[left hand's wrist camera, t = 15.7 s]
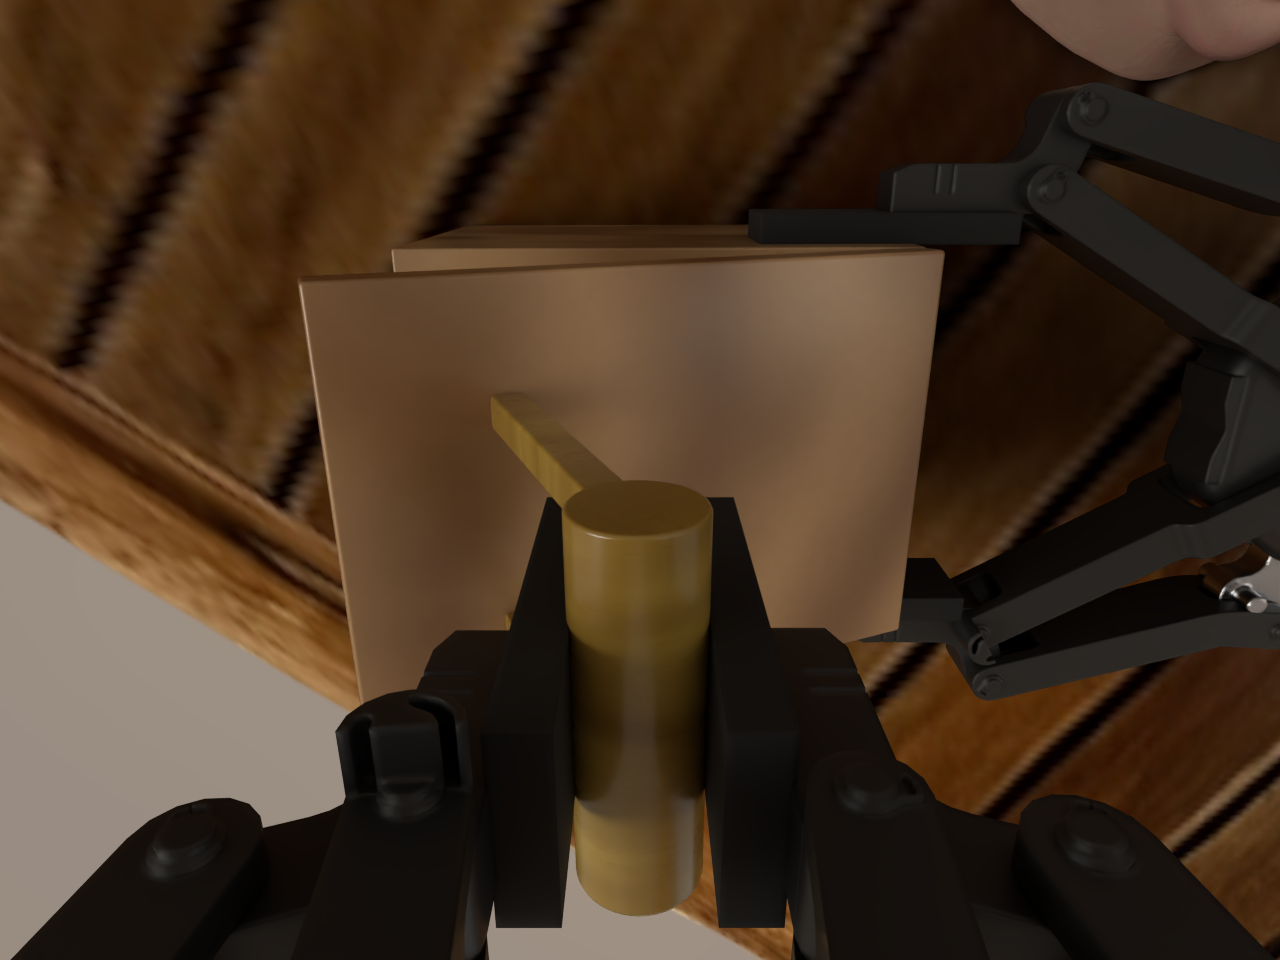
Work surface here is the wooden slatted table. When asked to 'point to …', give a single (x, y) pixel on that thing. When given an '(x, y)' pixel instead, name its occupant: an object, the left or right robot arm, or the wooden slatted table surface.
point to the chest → (591, 245)
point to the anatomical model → (1157, 32)
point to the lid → (623, 486)
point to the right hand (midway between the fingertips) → (745, 421)
